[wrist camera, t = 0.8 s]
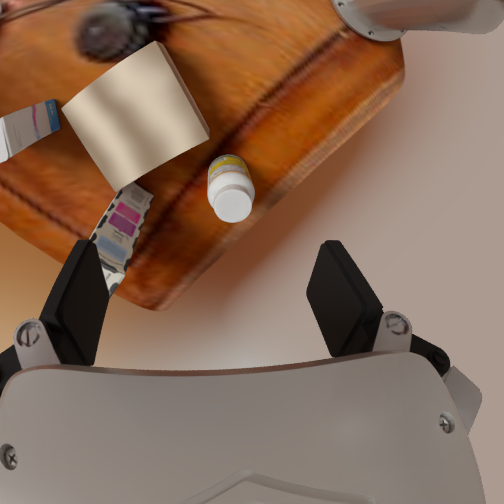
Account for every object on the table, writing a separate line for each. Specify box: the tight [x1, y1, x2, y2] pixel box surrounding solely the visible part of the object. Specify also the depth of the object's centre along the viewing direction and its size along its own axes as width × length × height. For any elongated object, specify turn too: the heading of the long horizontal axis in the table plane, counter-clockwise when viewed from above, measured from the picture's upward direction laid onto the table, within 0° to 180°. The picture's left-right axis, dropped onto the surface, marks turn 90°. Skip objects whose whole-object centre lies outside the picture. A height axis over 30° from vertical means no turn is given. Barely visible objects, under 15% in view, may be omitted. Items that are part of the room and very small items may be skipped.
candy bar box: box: [89, 181, 154, 299], centre depth 30 cm, size 11×5×16 cm, turn 136°
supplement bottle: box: [208, 155, 255, 223], centre depth 32 cm, size 5×5×10 cm
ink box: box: [0, 99, 60, 163], centre depth 20 cm, size 9×5×12 cm, turn 92°
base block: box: [61, 41, 210, 192], centre depth 26 cm, size 13×13×5 cm
